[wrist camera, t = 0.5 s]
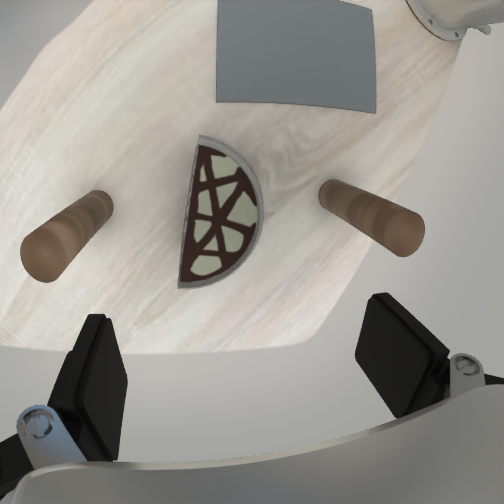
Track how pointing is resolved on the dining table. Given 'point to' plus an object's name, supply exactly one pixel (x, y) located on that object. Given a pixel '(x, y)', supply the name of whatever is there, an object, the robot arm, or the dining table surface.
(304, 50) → the charcoal mat
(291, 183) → the dining table surface
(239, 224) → the food container
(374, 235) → the walnut post
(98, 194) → the walnut post
